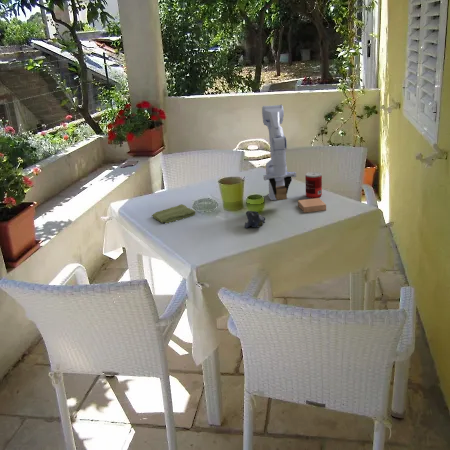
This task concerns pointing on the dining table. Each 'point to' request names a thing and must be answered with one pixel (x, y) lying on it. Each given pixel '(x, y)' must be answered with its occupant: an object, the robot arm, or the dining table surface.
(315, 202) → the terracotta tile
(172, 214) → the washcloth
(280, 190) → the walnut block
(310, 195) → the canned food
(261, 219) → the frog
